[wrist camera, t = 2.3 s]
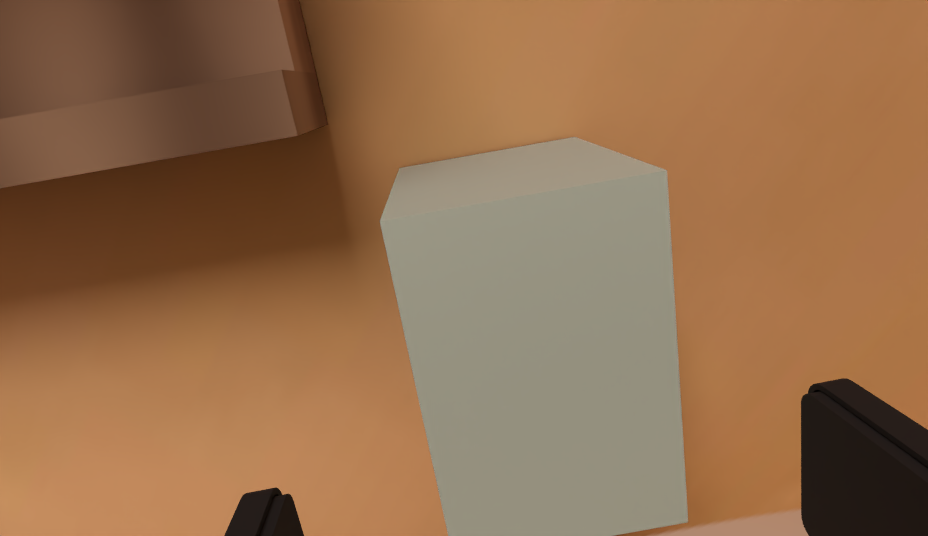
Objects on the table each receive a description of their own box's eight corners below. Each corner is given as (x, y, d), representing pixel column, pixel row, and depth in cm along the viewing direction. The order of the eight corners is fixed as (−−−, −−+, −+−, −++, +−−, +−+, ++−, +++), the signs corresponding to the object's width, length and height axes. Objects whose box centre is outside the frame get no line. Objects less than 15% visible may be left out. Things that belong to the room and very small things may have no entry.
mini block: (575, 136, 20) (667, 170, 12) (601, 379, 22) (689, 531, 15) (399, 168, 20) (379, 221, 12) (447, 407, 22) (456, 573, 15)
